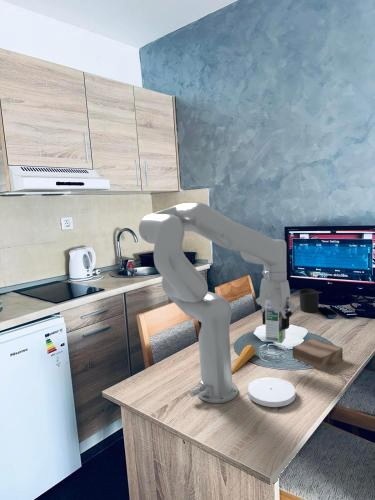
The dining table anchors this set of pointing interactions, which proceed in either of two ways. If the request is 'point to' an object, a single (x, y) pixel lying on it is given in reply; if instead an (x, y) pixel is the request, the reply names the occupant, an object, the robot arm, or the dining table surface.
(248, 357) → the carrot
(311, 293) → the pen holder
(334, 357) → the walnut block
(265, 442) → the dining table surface
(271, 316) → the syrup box
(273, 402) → the plastic lid
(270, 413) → the dining table surface
